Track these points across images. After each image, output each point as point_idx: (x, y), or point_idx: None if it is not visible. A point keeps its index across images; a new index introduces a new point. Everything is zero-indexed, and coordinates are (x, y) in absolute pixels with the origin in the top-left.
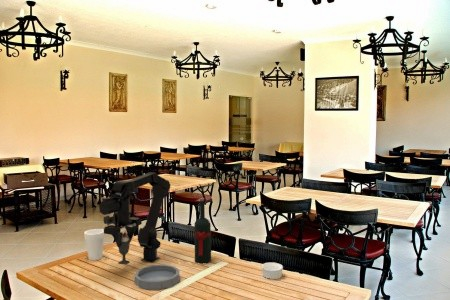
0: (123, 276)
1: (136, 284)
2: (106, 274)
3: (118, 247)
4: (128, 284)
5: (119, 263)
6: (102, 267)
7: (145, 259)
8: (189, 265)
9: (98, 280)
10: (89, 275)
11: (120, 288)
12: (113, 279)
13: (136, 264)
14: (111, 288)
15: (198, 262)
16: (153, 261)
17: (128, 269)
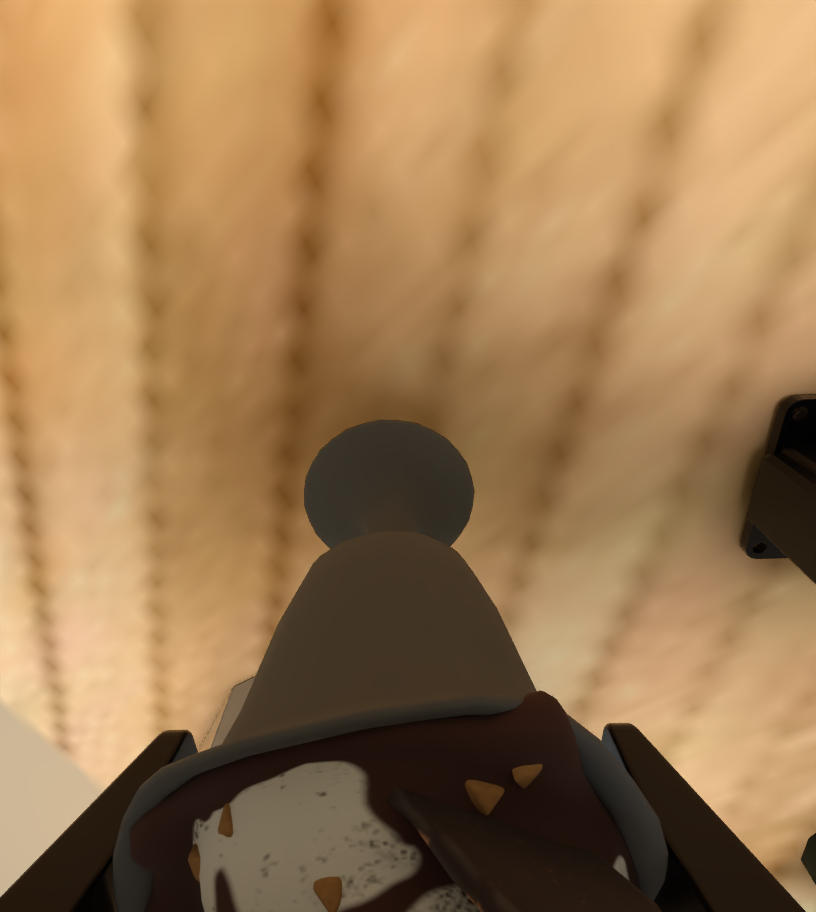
0: (287, 518)
1: (218, 715)
2: (210, 304)
3: (276, 636)
4: (188, 657)
5: (308, 486)
6: (357, 11)
7: (764, 494)
8: (749, 815)
9: (36, 352)
10: (29, 88)
11: (92, 652)
12: (170, 481)
13: (646, 422)
14: (34, 595)
15: (813, 853)
16: (770, 554)
17: (468, 440)
